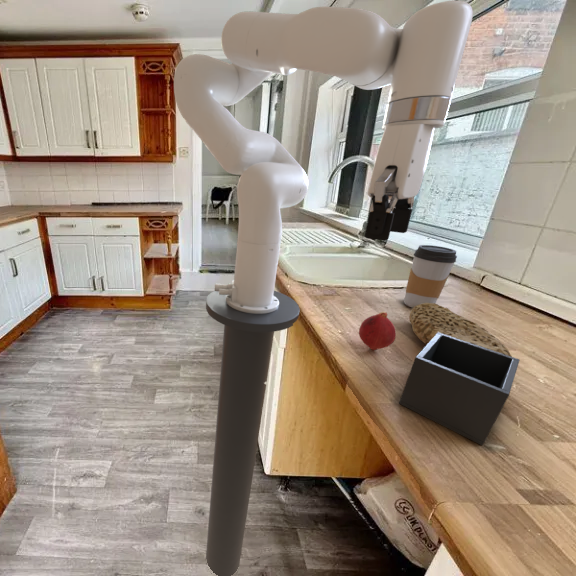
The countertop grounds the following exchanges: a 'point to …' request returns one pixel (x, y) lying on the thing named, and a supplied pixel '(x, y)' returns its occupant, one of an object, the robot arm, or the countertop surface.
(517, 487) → the countertop surface
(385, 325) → the onion
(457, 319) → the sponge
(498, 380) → the waste bin
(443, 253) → the coffee cup
